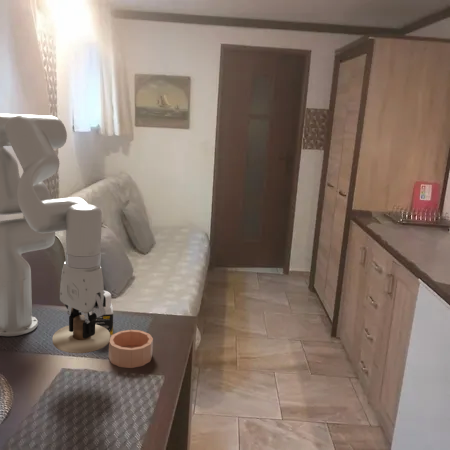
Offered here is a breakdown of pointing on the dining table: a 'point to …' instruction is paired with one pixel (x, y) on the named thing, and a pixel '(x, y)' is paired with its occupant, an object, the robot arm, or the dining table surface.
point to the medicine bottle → (106, 319)
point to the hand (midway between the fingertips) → (82, 332)
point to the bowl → (130, 348)
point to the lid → (80, 338)
